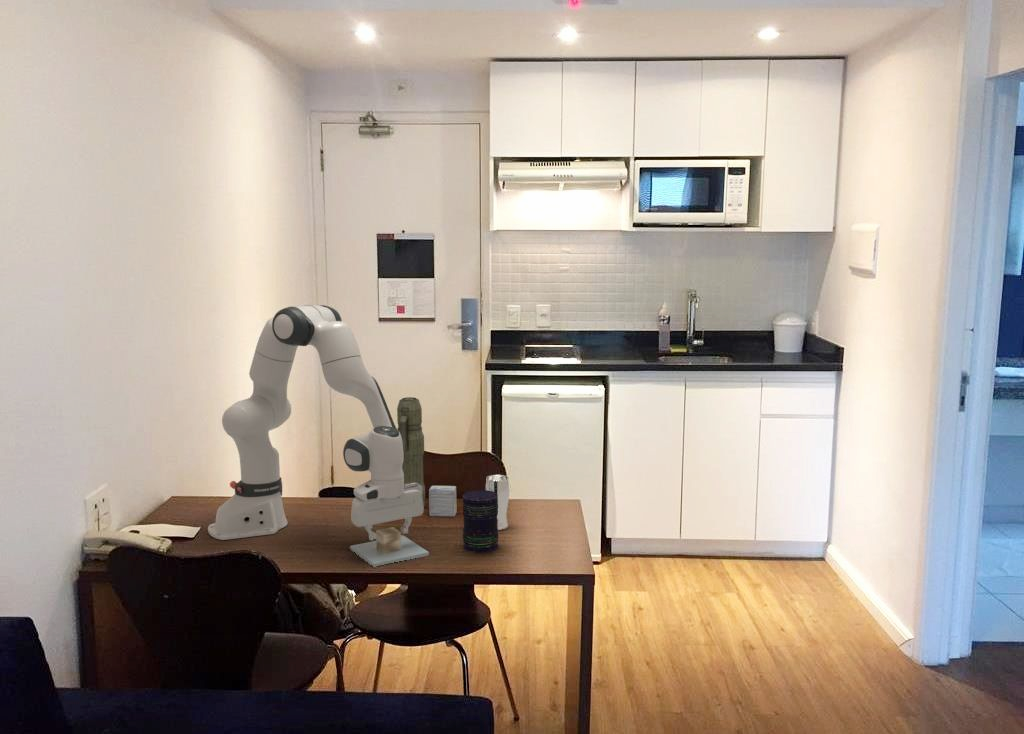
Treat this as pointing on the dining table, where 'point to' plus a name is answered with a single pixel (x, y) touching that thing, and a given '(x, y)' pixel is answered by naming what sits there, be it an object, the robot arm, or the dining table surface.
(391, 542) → the birch cube
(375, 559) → the mat
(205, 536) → the dining table surface
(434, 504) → the medicine box
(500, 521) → the beer glass
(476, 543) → the storage jar
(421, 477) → the thermos
